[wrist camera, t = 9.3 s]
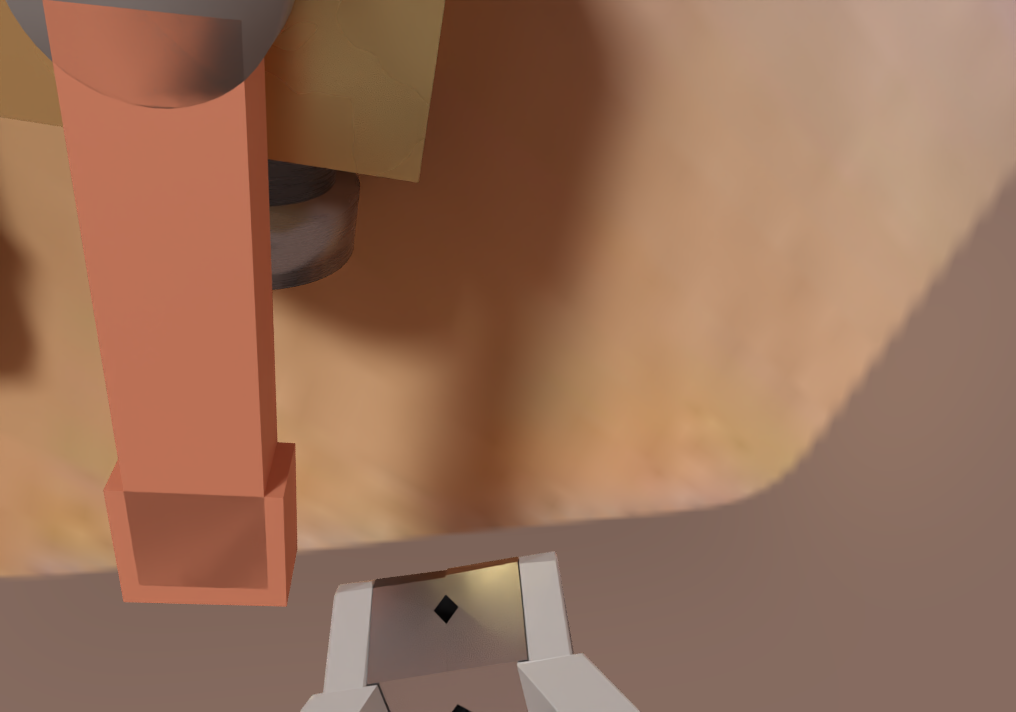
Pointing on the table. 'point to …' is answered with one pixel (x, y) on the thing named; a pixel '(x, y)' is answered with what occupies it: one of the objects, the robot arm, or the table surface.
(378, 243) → the table surface
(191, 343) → the lever
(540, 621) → the robot arm
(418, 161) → the valve
